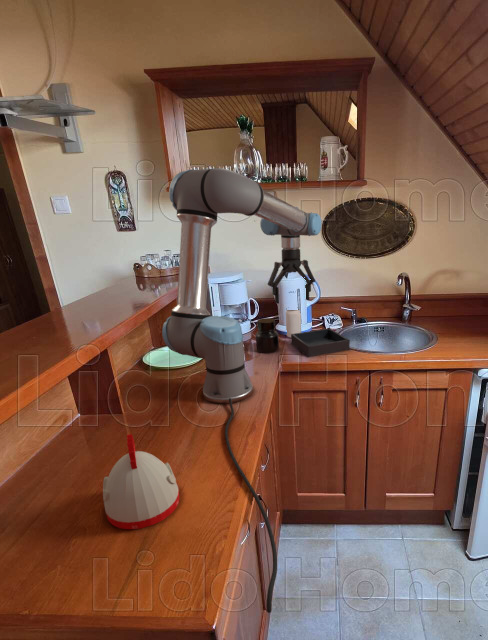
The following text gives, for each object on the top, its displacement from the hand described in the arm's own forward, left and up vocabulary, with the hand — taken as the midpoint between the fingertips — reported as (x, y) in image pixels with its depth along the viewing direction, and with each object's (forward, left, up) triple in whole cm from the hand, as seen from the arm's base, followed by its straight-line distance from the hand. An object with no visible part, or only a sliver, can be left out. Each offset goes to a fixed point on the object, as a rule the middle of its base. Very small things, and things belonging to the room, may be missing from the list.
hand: (292, 301), depth 176 cm
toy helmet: (-89, +68, -15) cm, 113 cm away
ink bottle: (-12, +16, -15) cm, 25 cm away
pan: (-18, -4, -15) cm, 24 cm away
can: (0, 0, -15) cm, 15 cm away
